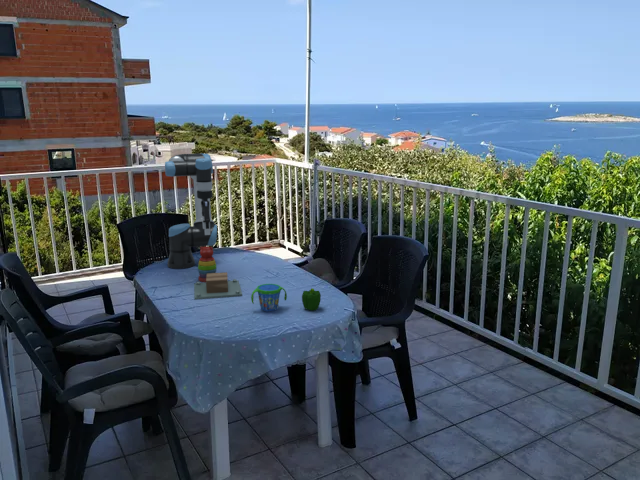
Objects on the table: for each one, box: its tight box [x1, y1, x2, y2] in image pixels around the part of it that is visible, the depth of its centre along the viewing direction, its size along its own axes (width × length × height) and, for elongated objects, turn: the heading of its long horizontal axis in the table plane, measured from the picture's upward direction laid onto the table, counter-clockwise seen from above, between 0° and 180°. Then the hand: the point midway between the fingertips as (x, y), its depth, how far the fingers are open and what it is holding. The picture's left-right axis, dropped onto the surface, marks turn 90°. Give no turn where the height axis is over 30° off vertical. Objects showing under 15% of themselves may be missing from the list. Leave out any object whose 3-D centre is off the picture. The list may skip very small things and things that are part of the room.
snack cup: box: [250, 283, 288, 313], centre depth 228 cm, size 16×10×10 cm
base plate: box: [193, 278, 243, 300], centre depth 254 cm, size 22×22×2 cm
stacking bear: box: [197, 246, 217, 283], centre depth 269 cm, size 11×10×18 cm
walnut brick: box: [205, 271, 229, 293], centre depth 253 cm, size 13×10×6 cm
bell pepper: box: [301, 288, 322, 311], centre depth 228 cm, size 8×8×10 cm
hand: (206, 231), depth 264 cm, fingers open, 13 cm apart
